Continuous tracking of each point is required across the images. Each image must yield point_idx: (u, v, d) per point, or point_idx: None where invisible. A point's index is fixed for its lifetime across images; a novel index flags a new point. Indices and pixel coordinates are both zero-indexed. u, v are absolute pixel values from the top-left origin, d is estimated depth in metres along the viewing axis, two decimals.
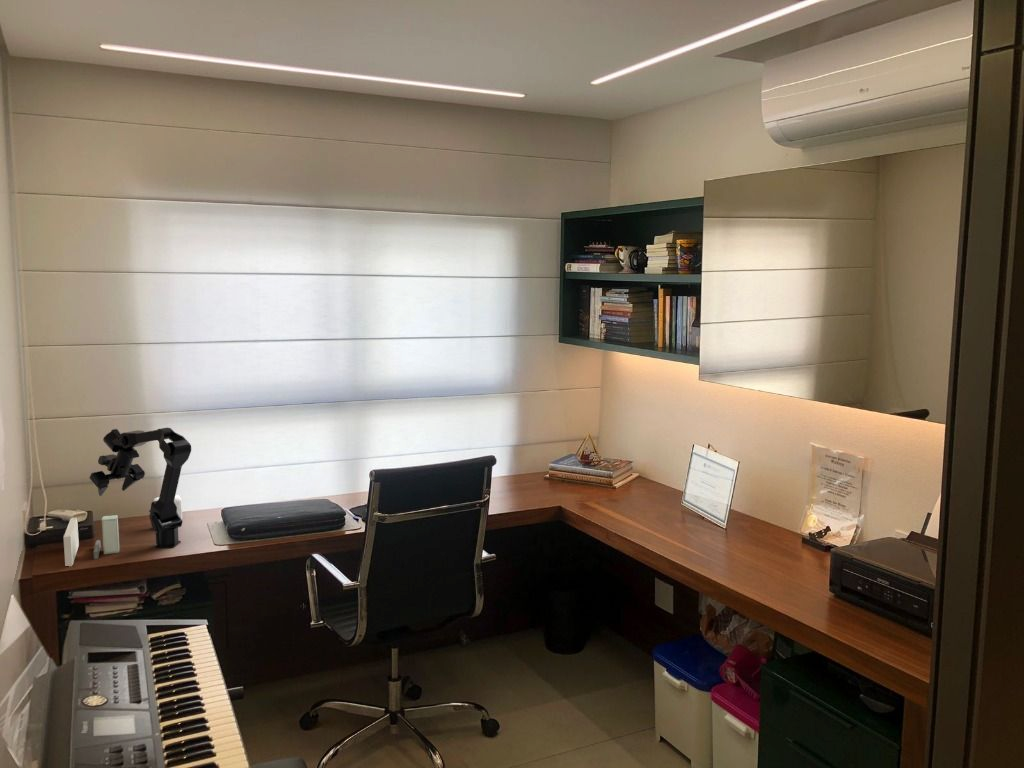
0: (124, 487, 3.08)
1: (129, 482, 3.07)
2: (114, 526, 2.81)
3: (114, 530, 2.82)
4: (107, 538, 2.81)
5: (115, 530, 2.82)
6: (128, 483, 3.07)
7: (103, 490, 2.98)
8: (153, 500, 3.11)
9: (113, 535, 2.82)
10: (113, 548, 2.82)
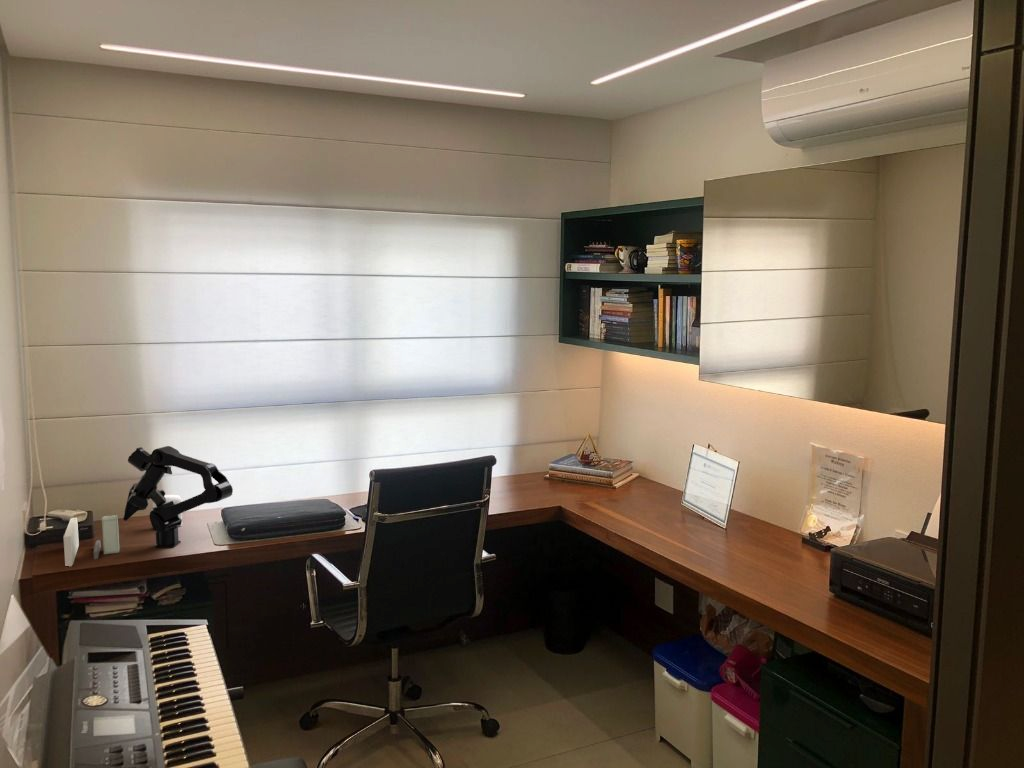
0: None
1: None
2: (114, 526, 2.81)
3: (114, 530, 2.82)
4: (107, 538, 2.81)
5: (115, 530, 2.82)
6: None
7: None
8: None
9: (113, 535, 2.82)
10: (113, 548, 2.82)
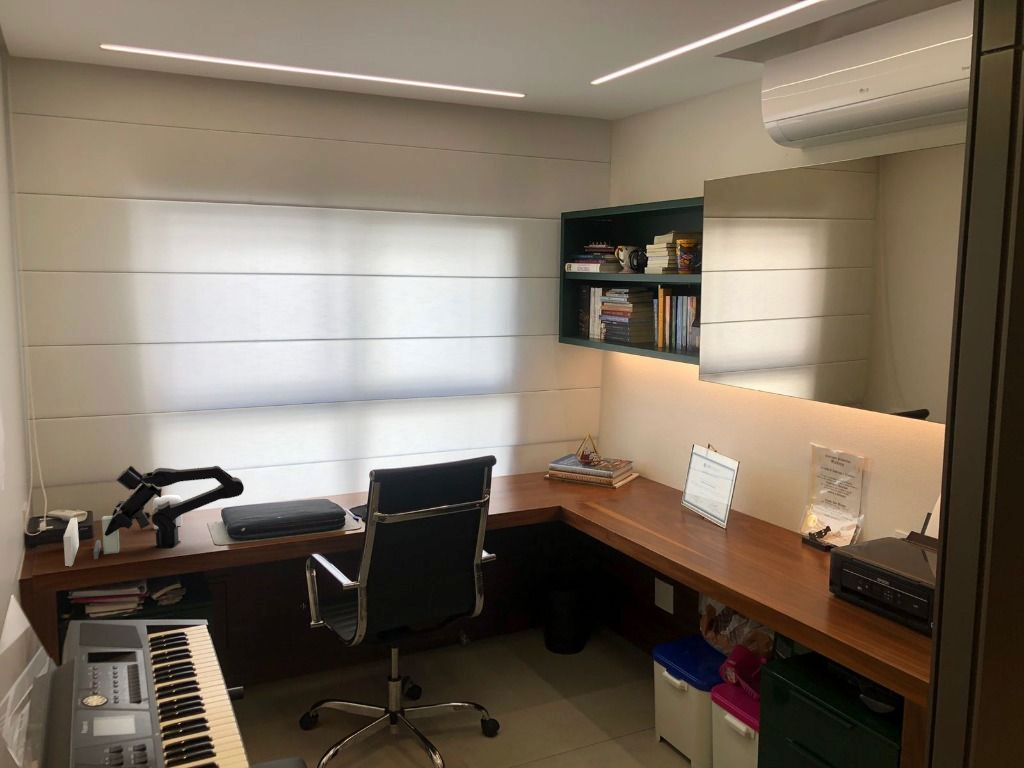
0: None
1: None
2: None
3: None
4: (107, 538, 2.81)
5: None
6: None
7: None
8: (153, 500, 3.11)
9: (113, 535, 2.82)
10: (113, 548, 2.82)
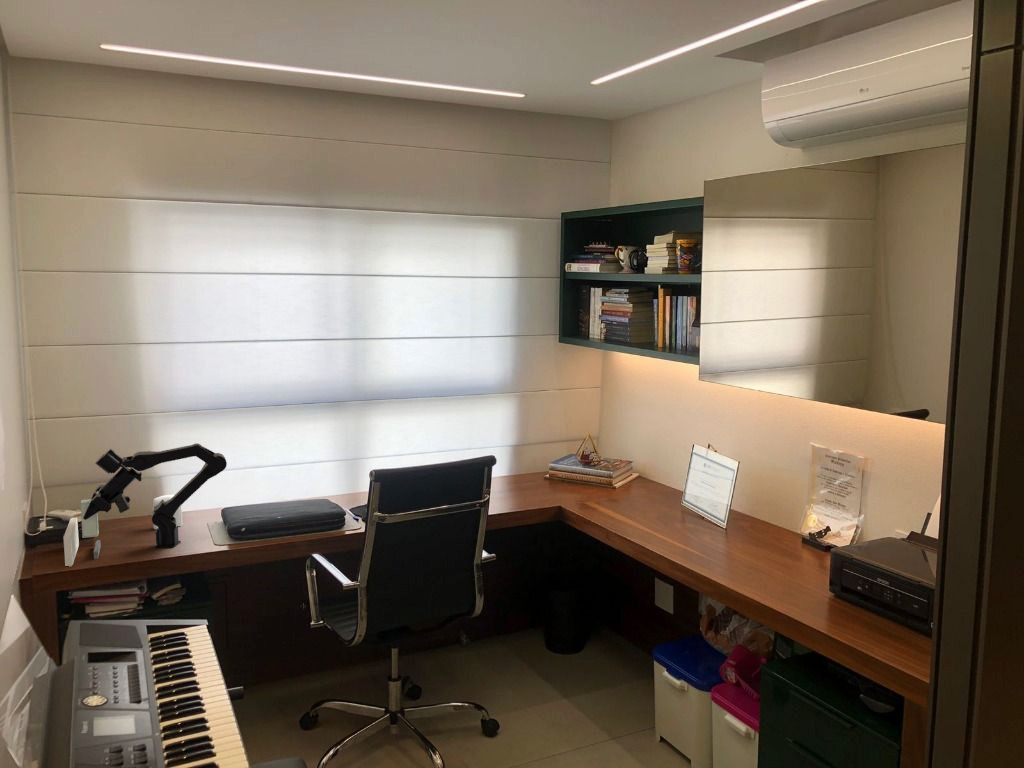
0: None
1: None
2: None
3: None
4: (86, 521, 2.78)
5: None
6: None
7: None
8: (153, 500, 3.11)
9: (92, 519, 2.79)
10: (92, 532, 2.79)
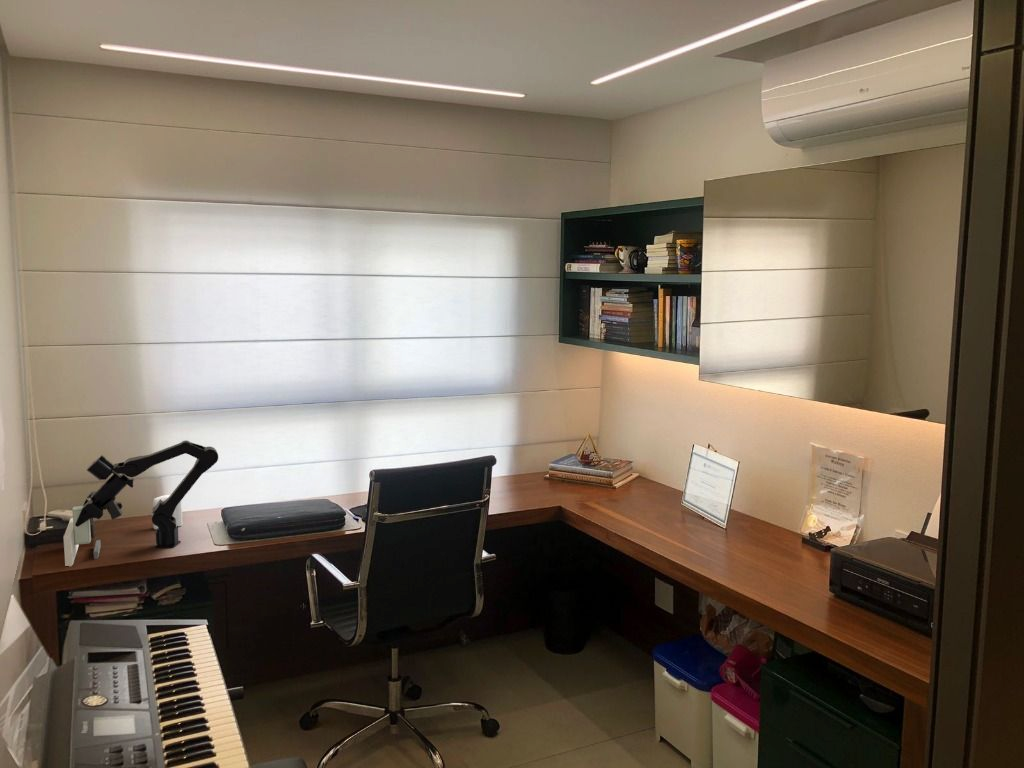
0: None
1: None
2: None
3: None
4: (78, 528, 2.77)
5: None
6: None
7: None
8: (153, 500, 3.11)
9: (84, 525, 2.78)
10: (84, 539, 2.78)
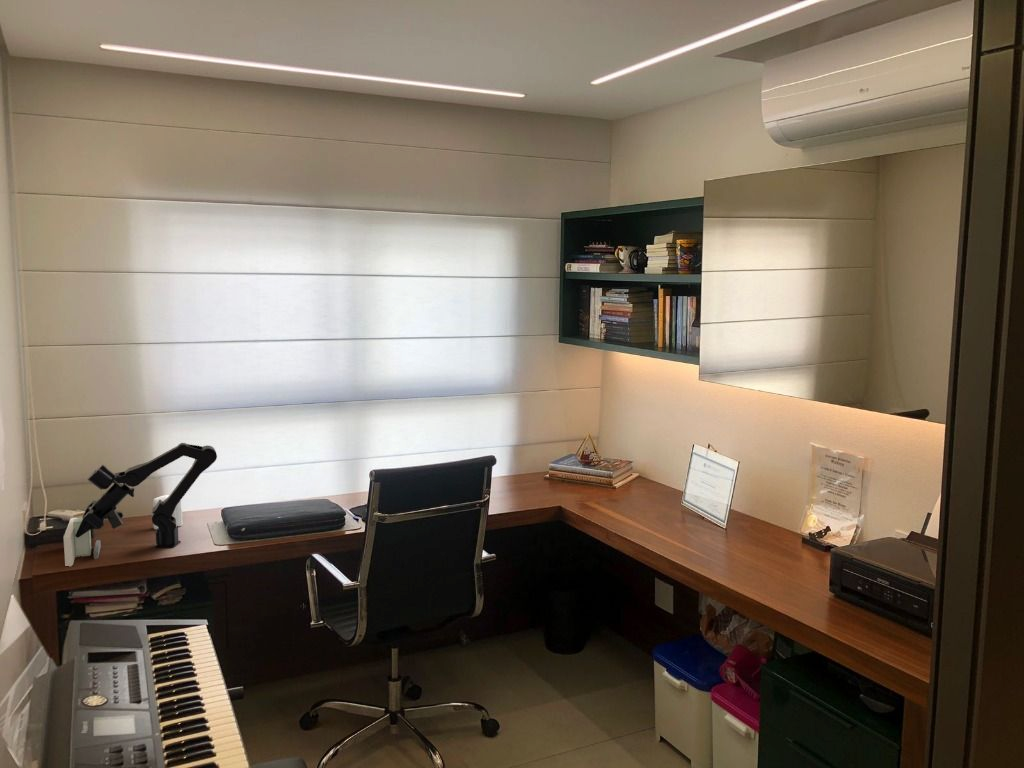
0: None
1: None
2: None
3: None
4: (78, 541, 2.78)
5: (87, 533, 2.79)
6: None
7: (83, 515, 2.85)
8: (153, 500, 3.11)
9: (85, 538, 2.79)
10: (85, 551, 2.79)
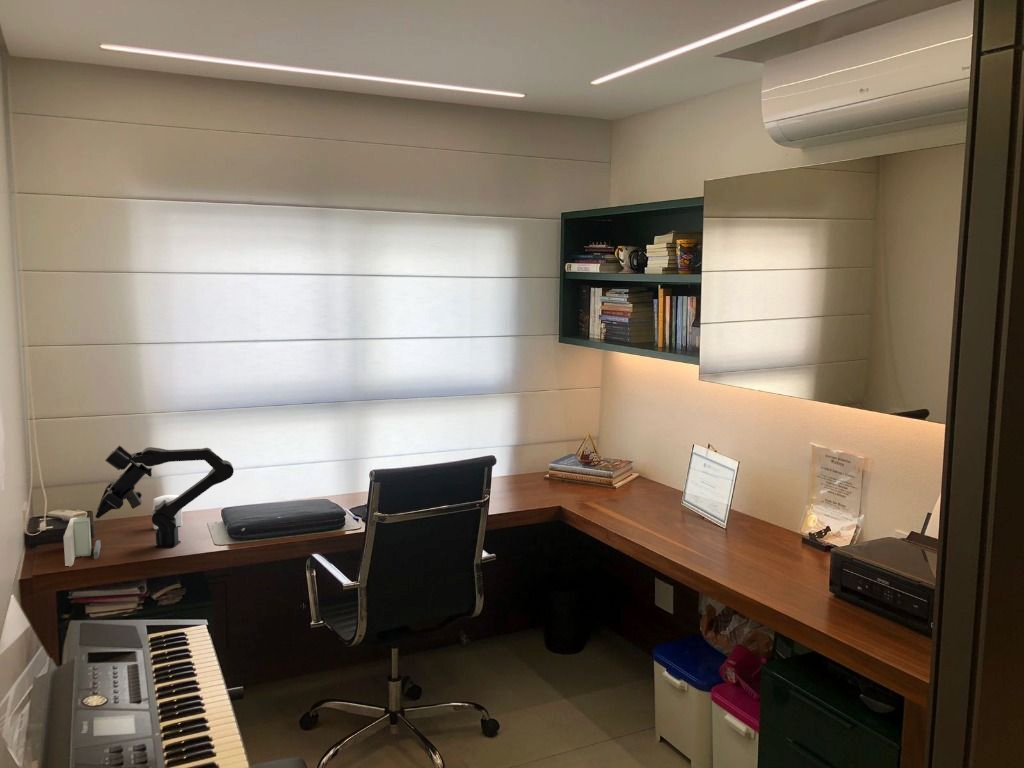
0: None
1: None
2: (86, 529, 2.78)
3: (85, 532, 2.78)
4: (78, 541, 2.78)
5: (87, 533, 2.79)
6: None
7: (102, 496, 2.87)
8: (153, 500, 3.11)
9: (85, 538, 2.79)
10: (85, 551, 2.79)
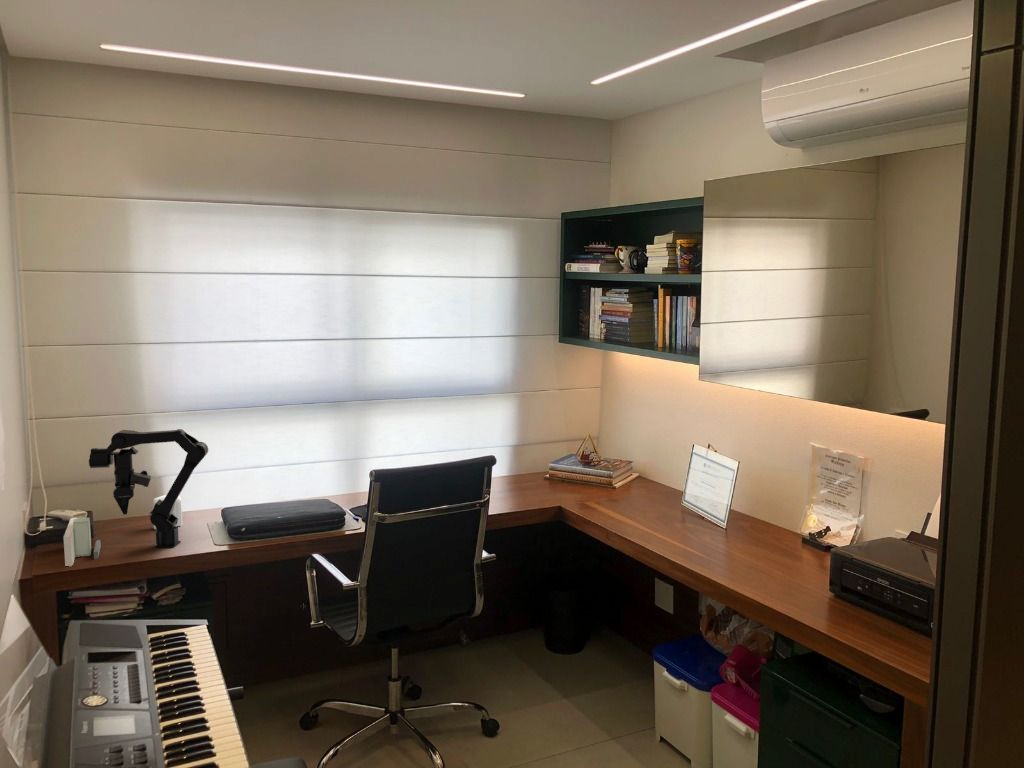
0: None
1: None
2: (86, 529, 2.78)
3: (85, 532, 2.78)
4: (78, 541, 2.78)
5: (87, 533, 2.79)
6: None
7: None
8: (153, 500, 3.11)
9: (85, 538, 2.79)
10: (85, 551, 2.79)
